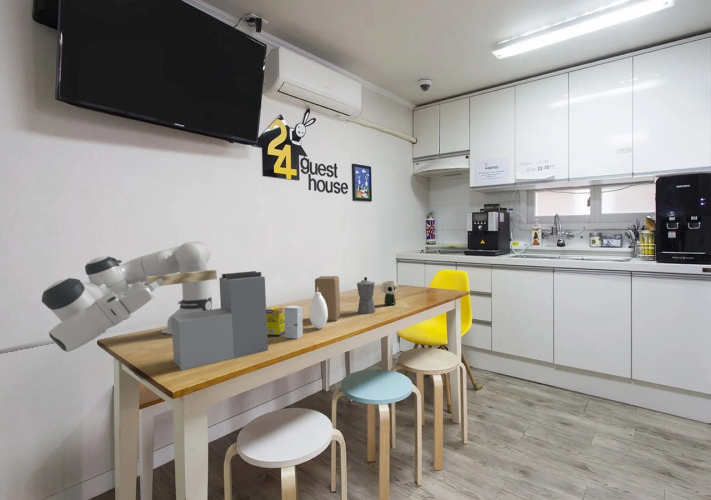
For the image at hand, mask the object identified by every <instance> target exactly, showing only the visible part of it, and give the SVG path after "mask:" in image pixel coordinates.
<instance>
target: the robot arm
mask: <svg viewBox="0 0 711 500" xmlns="http://www.w3.org/2000/svg"><path fill="white" fill-rule="evenodd" d="M210 258H211V250H210V247H209V246H208V245H207V244H205V243H204V242H201V241H186V242H184V243H183V244H181V245H178V246H174V247H171V248H166V249H162V250H158V251H155V252H152V253H149V254H146V255H145V254H144V255H142V256H139V257H136V258H133V259H131V260H129V261H125V262H124V263H123V264H121V263H122V262H123V261H122V259H116V258H115V257H113V256H99V257H95V258H94V259H91V260H90V261H89V262H87V263H86V264H85V266H84V270H85V274H86V275H87V277H88V281H89V282H86V281H85V282H83V281H81V280H80V279H78V278H74V277H73V278H71V277H70V278H63V279H61V280H57V281H56V282H54V283H52V284H50V285H49V286H48V287H47V288H46V289H45V290H44V291H43V292H42V295H41V303H43V305H44V306H46V307H47V308H48V309H49V310H50V311H51V312H52V313H53V314H54V315H55V316H56V317H57V318H58V319H59V320H60V321H61V322H59V323H58V324H56V325H55V326H54V327H52V329H50V330H49V331H48V336H49V338H51V340H52V341H53V342H54V343H55V344H56V345H57V346H58V347H59V348H60V349H61V350H62V351H64V352H69V353H70V352H72V351H74V350H76V349H78V348H81V347H82V346H85V345H86V344H88V343H90V342H91V341H93V340H95V339H96V338H98V337H100V336H102V334H104V333H106V331H107V330H108V329H110V328H113V327H116V326H118V325H119V324H120V323H122V322H123V321H126V320H128V319H129V318H131V317H132V314H133V313H135V312H136V311H138V310H139V309H140V308H142V307H144V306H145V305H146V304H147V303H149V302H150V301H151V300H153V298H155V294H154V293H153V292H154V291H155V290H157V288H159V287H161V286H160V285H161V284H163V283H164V281H163V280H162V278H158V279H157V280H155V281H154V282H152V283H151V284H148V285H147V277H148V276H158V275H168V274H177V273H187V272H197V271H206V270H208V268H207V262H208V261H209V260H210ZM208 263H209V262H208ZM181 290H182V291H181V292H182V300H178V302H177V305H179V308H178V309H177V310H176V311H175V312H174V313H173V314H172V315H178V314H185V313H192V312H199V311H206V310H212V309H213V308H212V305H213V301H212V300H213V299H212V297H211V280H206V281H198V282H189V283H181ZM166 326H167V327H165V328H163V329H162V330H161V333H162V334H165V333H166V334H167V335H172V319H171V315H170V316H169V317H168V319H167V325H166Z"/></svg>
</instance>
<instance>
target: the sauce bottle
mask: <svg viewBox="0 0 711 500" xmlns="http://www.w3.org/2000/svg"><path fill="white" fill-rule="evenodd" d="M310 302H311V303H310V304H309V305H310V306H309V311H308V312H309V320H310V323H311V325H312V326H313V327H314V328H316V329H317V330H320V329H322V328H324V326H325V325H326V324H327V322H328V321H327V318H328V310H327V305H326V302H325V300H324V298H323V297H322V295H321V293H319V292H318V287H317V293H315V292H314V295H313V297H312V299H311V301H310Z"/></svg>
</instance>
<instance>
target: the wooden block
mask: <svg viewBox="0 0 711 500" xmlns="http://www.w3.org/2000/svg"><path fill="white" fill-rule="evenodd" d="M317 287H318V292H319V293H321V295H322V297H323V298H324V300H325V302H326V305H327V310H328V318H327V322H336V321H337V320H338V319H339V318H340V316H341V298H340V296H341V295H340V277H339V276H337V275H331V276H330V275H328V276H325V275H324V276H322V275H321V276H319V277H317V278H315V279H314V294H315V293H317Z"/></svg>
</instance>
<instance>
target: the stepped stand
mask: <svg viewBox="0 0 711 500" xmlns="http://www.w3.org/2000/svg"><path fill="white" fill-rule="evenodd" d="M218 280H219V297H220V298H219V299H220V300H219V301H220V308H211V310H206V311H199V312H192V313H185V314H178V315H173V314H171V315H170V316H171V319H172V334H171V335H172V337H171V338H172V349H173V350H172V354H173V361H174V362H175V364H176V365H177V367H178V368H179V369H180V370H181V371H184V370H185V371H186V370H188V369H194V368H198V367H203V366H205V365H206V366H207V365H210V364H214V363H219V362H223V361H228V360H232V359H236V358H241V357H245V356H249V355H254V354H257V353H261V352H267V351H269V345H268V336H267V317H266V309H267V299H266V298H267V297H266V277H265V276H262V272H261V271H255V270H251V271H243V272H241V271H240V272H231V273H221V276H220V277H219V279H218Z"/></svg>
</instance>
